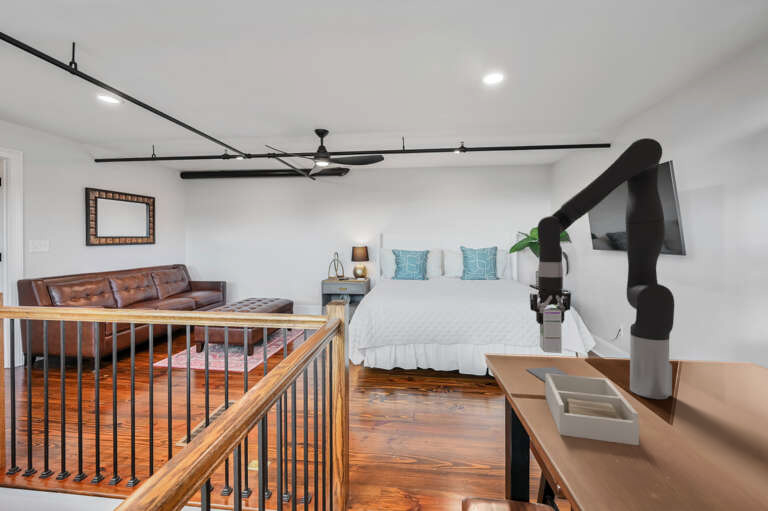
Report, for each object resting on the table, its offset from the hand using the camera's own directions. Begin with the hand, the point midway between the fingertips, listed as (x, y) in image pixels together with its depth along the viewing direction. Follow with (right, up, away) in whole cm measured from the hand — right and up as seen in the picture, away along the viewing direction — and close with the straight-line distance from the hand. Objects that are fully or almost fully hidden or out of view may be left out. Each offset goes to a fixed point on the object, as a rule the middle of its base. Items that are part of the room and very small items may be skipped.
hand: (550, 323), depth 116 cm
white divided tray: (-4, -19, -28) cm, 34 cm away
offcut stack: (-6, -19, -34) cm, 39 cm away
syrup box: (0, -10, 0) cm, 10 cm away
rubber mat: (0, -18, +1) cm, 18 cm away
